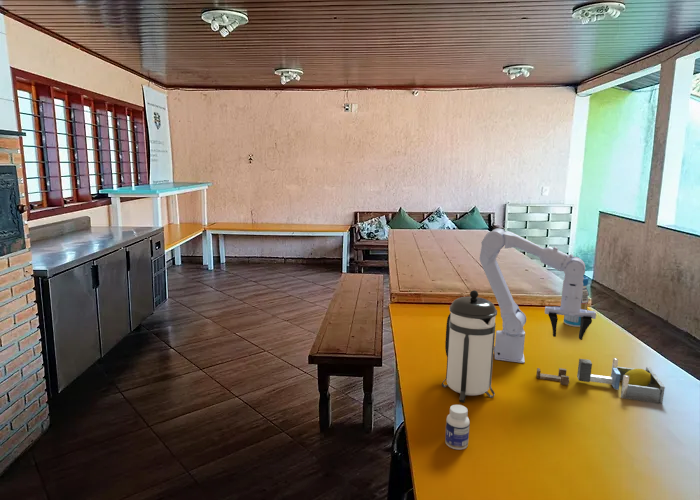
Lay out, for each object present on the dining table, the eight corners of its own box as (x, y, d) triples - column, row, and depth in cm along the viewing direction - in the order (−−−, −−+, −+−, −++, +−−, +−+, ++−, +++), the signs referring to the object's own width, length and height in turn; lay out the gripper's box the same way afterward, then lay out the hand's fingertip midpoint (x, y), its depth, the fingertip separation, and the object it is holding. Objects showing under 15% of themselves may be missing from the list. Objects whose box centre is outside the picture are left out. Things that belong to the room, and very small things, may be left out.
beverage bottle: (564, 326, 193) (569, 278, 189) (561, 319, 201) (566, 273, 197) (587, 328, 190) (592, 280, 187) (583, 321, 198) (588, 275, 195)
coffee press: (501, 386, 139) (509, 287, 134) (486, 410, 126) (495, 301, 120) (444, 372, 148) (449, 279, 143) (425, 393, 134) (430, 291, 129)
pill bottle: (442, 437, 113) (444, 403, 111) (463, 436, 113) (466, 402, 112) (448, 450, 108) (450, 415, 106) (471, 450, 108) (473, 414, 107)
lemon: (629, 396, 137) (658, 387, 135) (622, 380, 136) (651, 370, 134) (623, 386, 142) (650, 377, 140) (615, 370, 142) (643, 361, 139)
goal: (621, 398, 134) (624, 376, 132) (610, 377, 147) (612, 357, 145) (662, 404, 131) (666, 382, 130) (647, 382, 144) (650, 362, 143)
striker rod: (578, 384, 141) (581, 363, 140) (576, 377, 145) (578, 357, 144) (618, 389, 138) (621, 368, 137) (615, 383, 142) (617, 362, 141)
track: (537, 381, 143) (538, 373, 143) (535, 372, 149) (536, 365, 149) (570, 385, 141) (570, 377, 140) (566, 376, 147) (567, 369, 146)
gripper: (548, 297, 147) (544, 338, 149) (599, 302, 143) (594, 344, 145) (545, 291, 154) (542, 331, 156) (595, 295, 149) (590, 336, 152)
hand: (567, 337), depth 151 cm, fingers open, 7 cm apart
